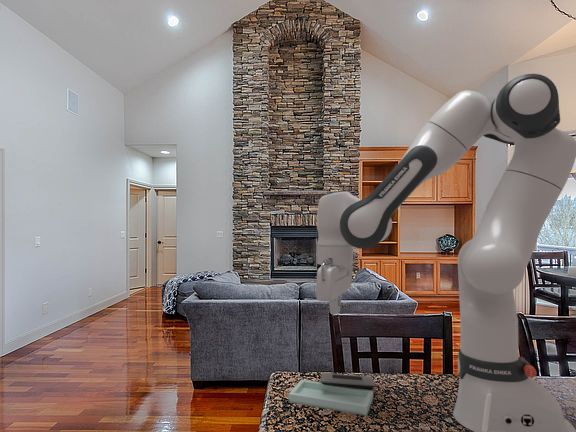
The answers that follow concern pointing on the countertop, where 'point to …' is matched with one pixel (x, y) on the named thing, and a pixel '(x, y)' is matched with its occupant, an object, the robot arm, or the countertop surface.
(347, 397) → the parts tray
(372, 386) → the electrical outlet
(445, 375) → the countertop surface
